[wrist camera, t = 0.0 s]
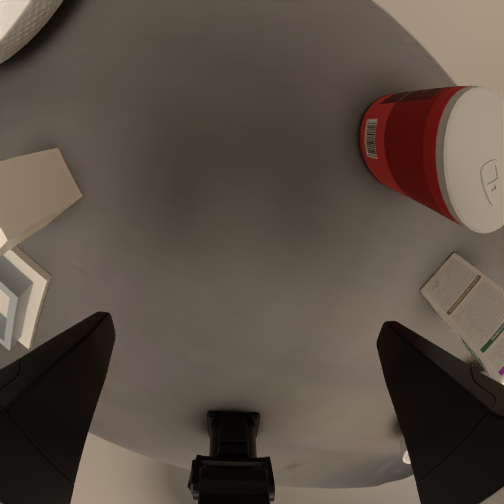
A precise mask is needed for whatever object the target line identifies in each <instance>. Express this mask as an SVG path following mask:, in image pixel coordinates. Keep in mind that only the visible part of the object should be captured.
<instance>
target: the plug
mask: <svg viewBox="0 0 504 504" xmlns="http://www.w3.org/2000/svg"><path fill="white" fill-rule="evenodd" d="M81 197H83V196H82V194H81V192H80V190H79V188H78V186H77V185H76V183H75V181H74V179H73V177H72V175H71V173H70V171H69V169H68V167H67V165H66V163H65V161H64V159H63V157H62V155H61V153H60V151H59V149H58V148H54V149H49V150H45V151H40V152H36V153H31V154H27V155H23V156H19V157H15V158H11V159H7V160H4V161H0V256H2V255H3V254H5V253H6V252H7V251H9V250H10V249H12V248H13V247H14V246H16V245H17V244H19V243H20V242H22V241H23V240H24V239H26V238H27V237H29V236H30V235H32V234H33V233H35V232H36V231H38V230H40V229H41V228H43V227H44V226H46V225H47V224H49V223H50V222H51V221H52V220H54V219H55V218H56V217H57V216H58V215H60V214H61V213H62V212H63V211H65V210H66V209H67V208H68V207H70V206H71V205H72V204H74V203H75V202H76V201H77V200H79V199H80V198H81Z"/></svg>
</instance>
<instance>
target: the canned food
mask: <svg viewBox="0 0 504 504" xmlns="http://www.w3.org/2000/svg"><path fill="white" fill-rule="evenodd" d="M359 141H360V149H361V152H362V155H363V158H364V160H365V162H366V164H367V166H368V168H369V169H370V171H371V172H372V174H373V175H374V176H375V177H376V178H377V179H378V180H379V181H380V182H381V183H382V184H384V185H385V186H387V187H389V188H391V189H393V190H395V191H397V192H399V193H401V194H403V195H405V196H407V197H409V198H411V199H413V200H415V201H417V202H419V203H421V204H423V205H425V206H426V207H428V208H430V209H432V210H434V211H436V212H438V213H439V214H441V215H443V216H445V217H446V218H448V219H450V220H452V221H454V222H456V223H458V224H460V225H461V226H463V227H465V228H467V229H470V230H473V231H475V232H477V233H489V232H493V231H495V230H497V229H499V228H500V227H502V226H503V225H504V98H503V97H502V96H501V95H500V94H498V93H497V92H495V91H493V90H491V89H489V88H485V87H478V86H456V87H445V88H435V89H426V90H418V91H411V92H404V93H398V94H392V95H387V96H384V97H382V98H380V99H378V100H377V101H376V102H374V103H373V104H372V105H371V106H370V108H369V109H368V110H367V112H366V113H365V115H364V117H363V120H362V122H361V127H360V134H359Z"/></svg>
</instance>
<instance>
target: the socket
mask: <svg viewBox="0 0 504 504" xmlns="http://www.w3.org/2000/svg"><path fill="white" fill-rule="evenodd" d="M51 278H52V276H51V275H50V274H49V273H47V272H46V271H45V270H44V269H42V268H41V267H40V266H39V265H38V264H37V263H35V262H34V261H33V260H32V259H31V258H30V257H28V256H27V255H26V254H25V253H24V252H23V251H22V250H21V249H19V248H18V247H17V246H14V247H13V248H12V249H10V250H9V251H7V252H6V253H5V254H3V255H2V256H0V343H1V344H2V345H3V346H5V347H6V348H7V349H8V350H9V351H10V350H11V349H12V348H13V346H14V345H15V344H16V342H17V341H19V342H20V343H21V344H23V345H24V346H25V347H26V348H28V349H30V347H31V346H32V344H33V339H34V335H35V331H36V327H37V324H38V320H39V316H40V313H41V309H42V306H43V302H44V299H45V296H46V293H47V290H48V287H49V284H50V281H51Z"/></svg>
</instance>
